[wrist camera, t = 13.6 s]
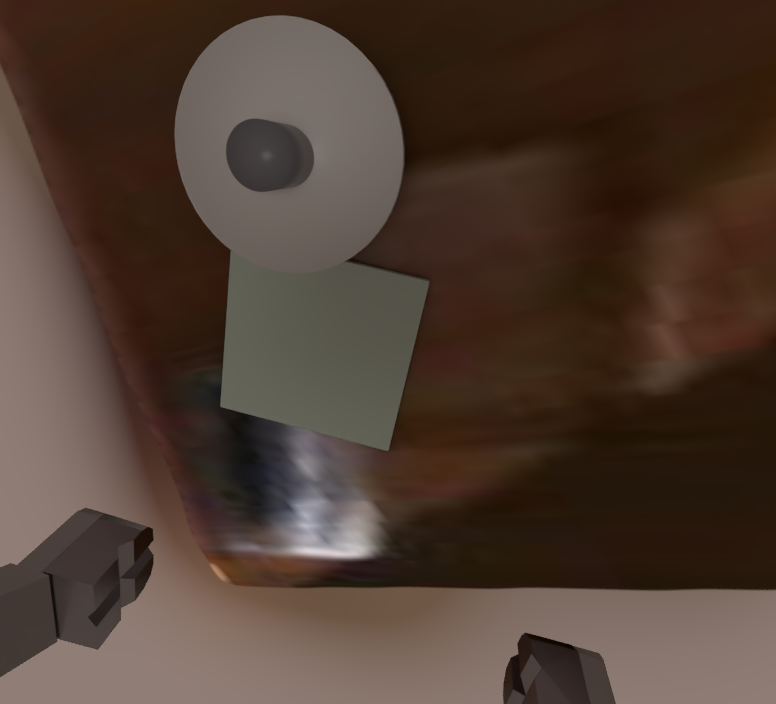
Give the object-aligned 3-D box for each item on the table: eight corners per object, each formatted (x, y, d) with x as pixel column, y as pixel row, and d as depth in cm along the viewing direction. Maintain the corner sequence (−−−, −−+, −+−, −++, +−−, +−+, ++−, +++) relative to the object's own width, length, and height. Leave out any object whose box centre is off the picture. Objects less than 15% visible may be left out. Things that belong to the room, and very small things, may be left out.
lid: (428, 47, 26) (420, 22, 21) (381, 290, 31) (366, 313, 27) (187, 0, 27) (127, -35, 22) (183, 244, 32) (134, 258, 28)
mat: (430, 279, 37) (429, 281, 36) (389, 447, 43) (388, 451, 43) (235, 233, 38) (231, 234, 37) (223, 403, 44) (220, 406, 44)
